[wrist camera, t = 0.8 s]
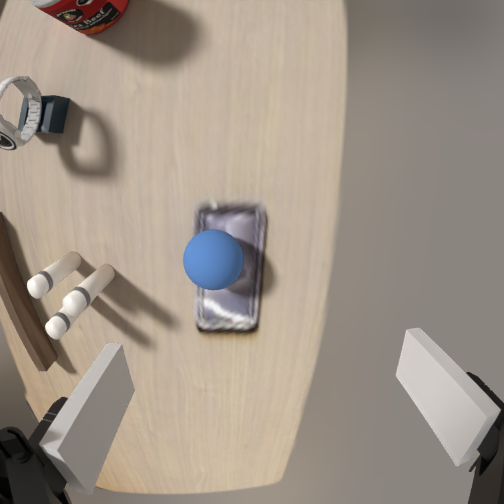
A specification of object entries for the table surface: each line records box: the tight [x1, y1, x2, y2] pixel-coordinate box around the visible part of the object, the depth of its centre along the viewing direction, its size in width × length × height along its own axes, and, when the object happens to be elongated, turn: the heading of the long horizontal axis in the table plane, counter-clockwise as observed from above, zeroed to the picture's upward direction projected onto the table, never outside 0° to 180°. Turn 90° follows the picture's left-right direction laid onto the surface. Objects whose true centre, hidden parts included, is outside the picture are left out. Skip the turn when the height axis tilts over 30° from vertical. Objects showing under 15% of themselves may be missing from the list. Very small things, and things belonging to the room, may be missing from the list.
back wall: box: [0, 212, 58, 371], centre depth 32 cm, size 2×24×4 cm, turn 11°
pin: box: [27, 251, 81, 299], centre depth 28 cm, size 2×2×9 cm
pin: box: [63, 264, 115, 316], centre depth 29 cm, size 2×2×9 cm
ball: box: [183, 230, 244, 290], centre depth 30 cm, size 6×6×6 cm
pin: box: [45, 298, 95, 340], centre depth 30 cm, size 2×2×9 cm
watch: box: [0, 76, 69, 150], centre depth 22 cm, size 6×8×11 cm
